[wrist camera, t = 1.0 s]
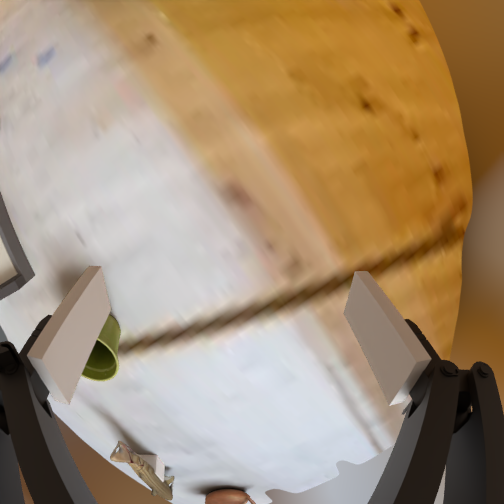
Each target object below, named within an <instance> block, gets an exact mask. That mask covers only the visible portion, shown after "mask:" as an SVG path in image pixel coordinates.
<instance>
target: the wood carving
mask: <svg viewBox="0 0 504 504" xmlns="http://www.w3.org/2000/svg"><path fill="white" fill-rule="evenodd" d="M118 446H119V451H118V452H117V453H116V449H117V448H118ZM128 448H129V447H128V446H127V445H126V444H124V443H123V442H121V441H118V444H117V446H116V448H115V449H114V451H113V452H112V454H111V456H110V459H111V460H112V461H115V462H126V463H128V464H129V465H130V466H131V467H132V468H133V470H134V472H135V473H136V474H137V475H138V476H139V477H140V478H141V479H142V480H143V481H144V482H145V483H146V484H147V485H148V486H149V487H150V488H151V489H152V495H153V496H155V495H156V494H158V495H159V496H161V497H162V498H164V499H167V500H172V498H173V495H172V490H173V481H174V476H171V477H168V476H164V470H165V464H164V463H163V462H162V460H161V459H160V458H159V457H158V455H138V454H136V453H135V452H134V451H133V450H132V452H133V453H132V452H130V451H129V450H128ZM129 449H130V448H129ZM130 450H131V449H130ZM170 483H172V484H171V486H170V487H169V484H170Z"/></svg>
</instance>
